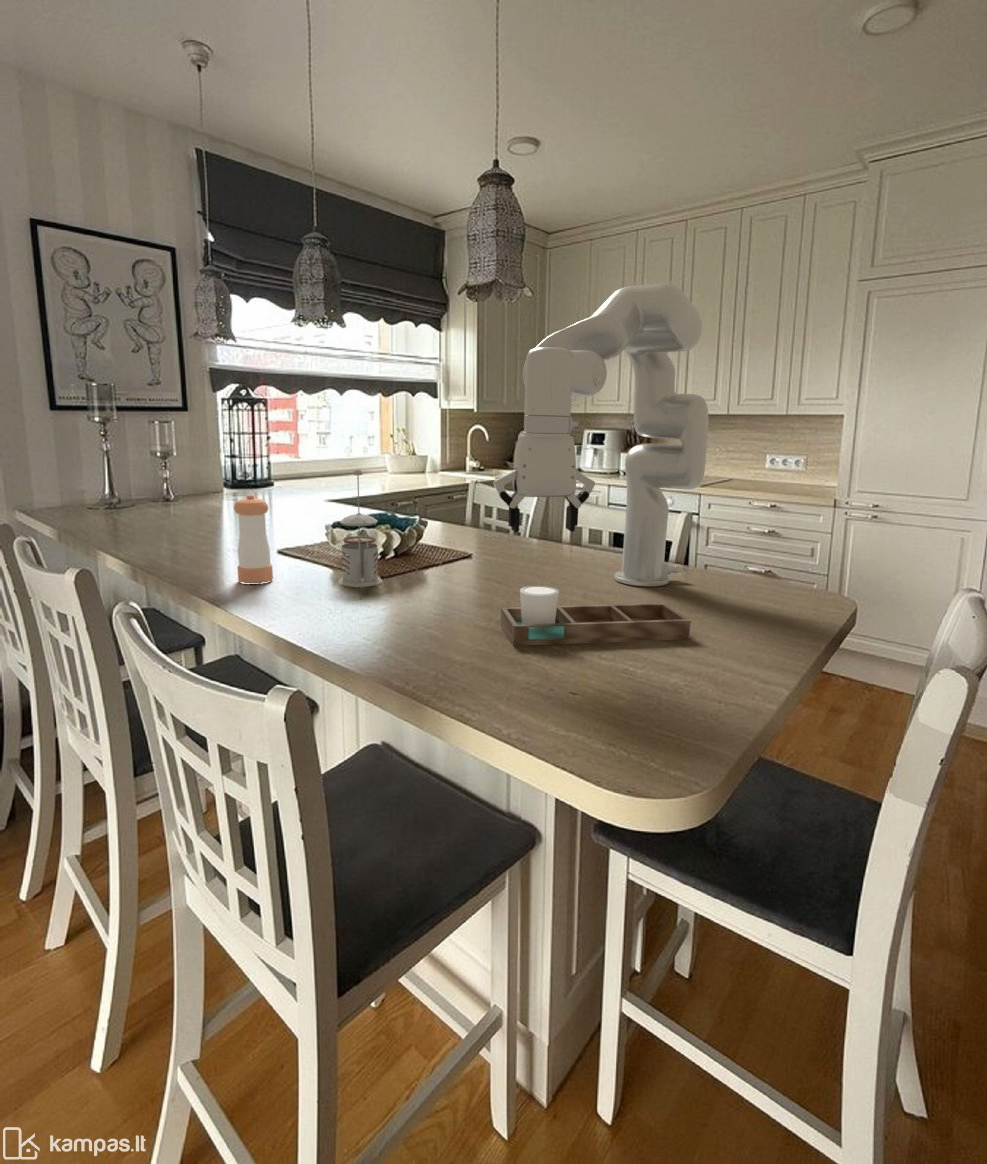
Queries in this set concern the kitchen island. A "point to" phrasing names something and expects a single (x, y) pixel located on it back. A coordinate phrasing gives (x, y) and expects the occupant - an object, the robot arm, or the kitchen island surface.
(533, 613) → the white cup
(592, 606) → the rack
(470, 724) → the kitchen island surface
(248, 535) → the pepper shaker
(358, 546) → the french press
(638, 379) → the robot arm
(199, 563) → the kitchen island surface
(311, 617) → the kitchen island surface
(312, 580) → the kitchen island surface
